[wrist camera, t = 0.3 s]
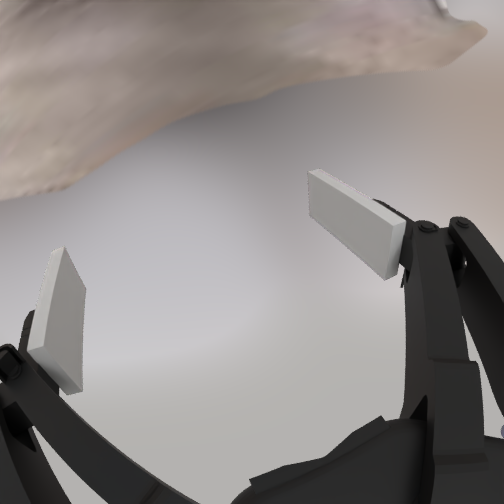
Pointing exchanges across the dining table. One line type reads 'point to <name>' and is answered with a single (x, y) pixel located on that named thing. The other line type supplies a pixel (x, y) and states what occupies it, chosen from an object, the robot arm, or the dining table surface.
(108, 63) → the dining table surface
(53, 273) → the robot arm
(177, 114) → the dining table surface
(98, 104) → the dining table surface
